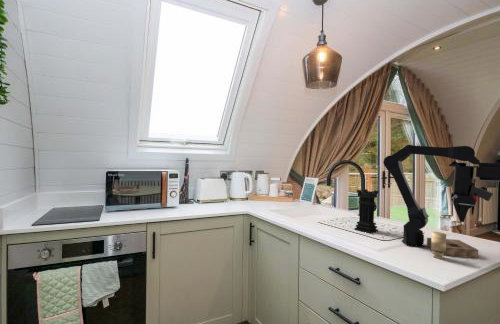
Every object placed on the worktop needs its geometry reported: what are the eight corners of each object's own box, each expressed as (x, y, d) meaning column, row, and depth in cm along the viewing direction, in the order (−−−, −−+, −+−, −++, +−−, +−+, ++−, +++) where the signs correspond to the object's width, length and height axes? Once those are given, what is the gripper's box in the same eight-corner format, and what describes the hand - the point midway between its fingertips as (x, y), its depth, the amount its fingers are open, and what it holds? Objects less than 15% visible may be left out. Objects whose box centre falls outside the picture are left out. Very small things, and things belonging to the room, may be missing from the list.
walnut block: (442, 255, 101) (442, 247, 101) (426, 244, 113) (427, 237, 113) (478, 257, 99) (478, 249, 99) (458, 246, 111) (458, 239, 111)
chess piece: (369, 233, 127) (370, 192, 127) (354, 229, 134) (355, 190, 133) (378, 231, 132) (379, 190, 131) (363, 227, 138) (364, 189, 138)
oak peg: (434, 259, 96) (435, 234, 96) (428, 254, 101) (429, 231, 101) (448, 260, 96) (449, 235, 95) (441, 255, 100) (442, 232, 100)
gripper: (496, 182, 89) (493, 228, 90) (487, 179, 105) (484, 218, 105) (454, 179, 95) (452, 222, 96) (452, 176, 111) (449, 214, 111)
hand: (460, 219), depth 102 cm, fingers open, 9 cm apart
